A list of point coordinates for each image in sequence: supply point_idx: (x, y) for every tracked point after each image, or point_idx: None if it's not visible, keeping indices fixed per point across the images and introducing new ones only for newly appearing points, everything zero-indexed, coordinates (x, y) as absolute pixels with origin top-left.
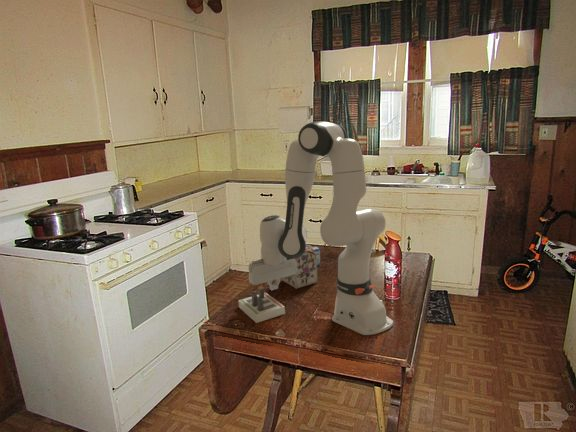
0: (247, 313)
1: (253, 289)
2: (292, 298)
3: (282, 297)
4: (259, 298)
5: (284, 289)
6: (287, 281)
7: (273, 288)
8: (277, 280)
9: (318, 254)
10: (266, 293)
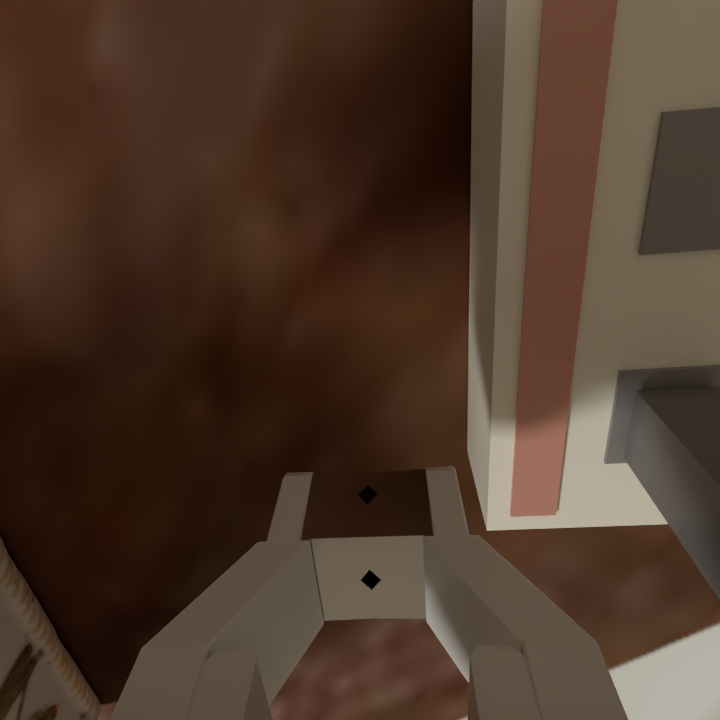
0: None
1: (460, 691)
2: (99, 289)
3: (235, 392)
4: None
5: (138, 557)
6: (49, 670)
7: (414, 491)
8: (251, 680)
9: None
10: (497, 496)
